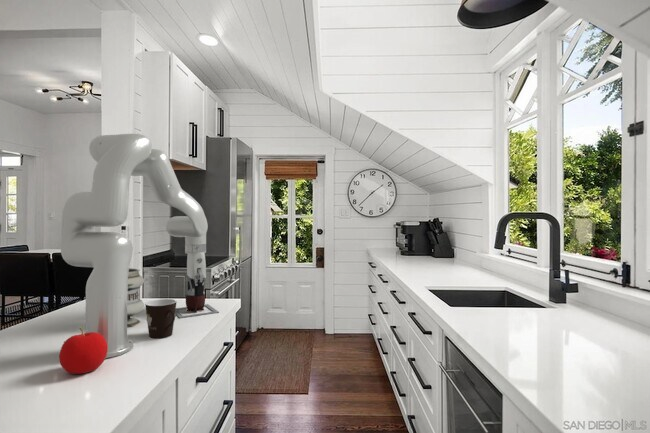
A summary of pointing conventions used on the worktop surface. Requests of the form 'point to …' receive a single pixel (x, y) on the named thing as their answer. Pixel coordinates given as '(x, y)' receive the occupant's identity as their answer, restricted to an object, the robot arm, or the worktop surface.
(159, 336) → the coffee mug
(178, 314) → the gray square frame
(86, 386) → the worktop surface
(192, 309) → the mate gourd
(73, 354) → the fruit
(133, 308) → the apothecary jar
